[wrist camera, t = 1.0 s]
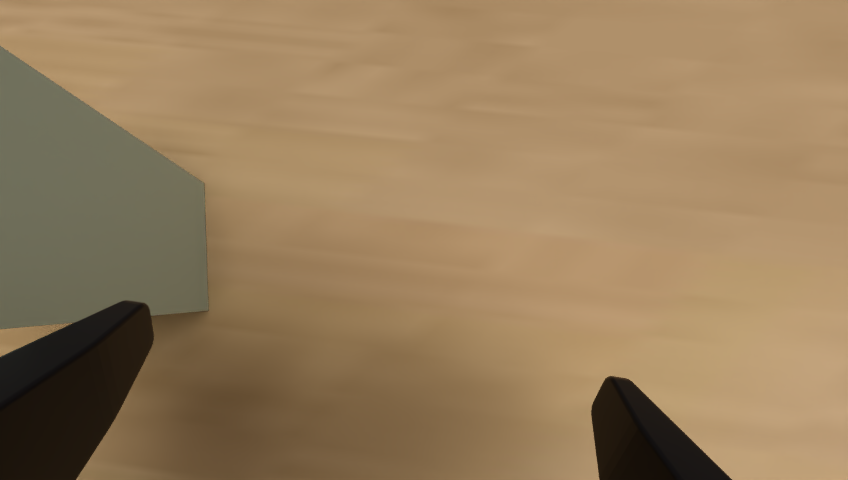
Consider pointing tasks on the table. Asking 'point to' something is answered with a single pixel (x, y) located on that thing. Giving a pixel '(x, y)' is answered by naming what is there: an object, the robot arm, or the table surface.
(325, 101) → the table surface
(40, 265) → the pale green rectangular block
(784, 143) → the table surface
